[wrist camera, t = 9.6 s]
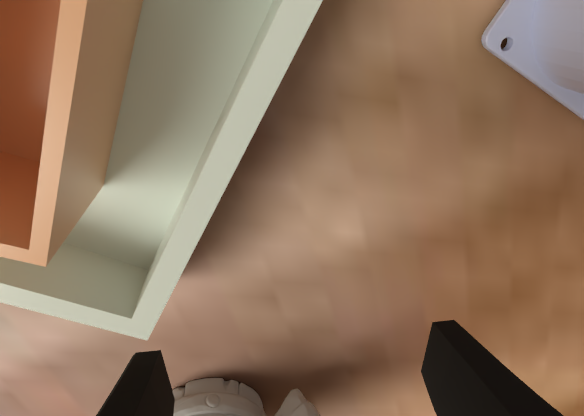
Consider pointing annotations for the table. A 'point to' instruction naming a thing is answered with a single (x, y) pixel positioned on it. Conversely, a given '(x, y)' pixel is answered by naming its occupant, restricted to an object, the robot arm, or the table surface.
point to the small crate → (57, 114)
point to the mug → (232, 400)
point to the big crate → (166, 159)
